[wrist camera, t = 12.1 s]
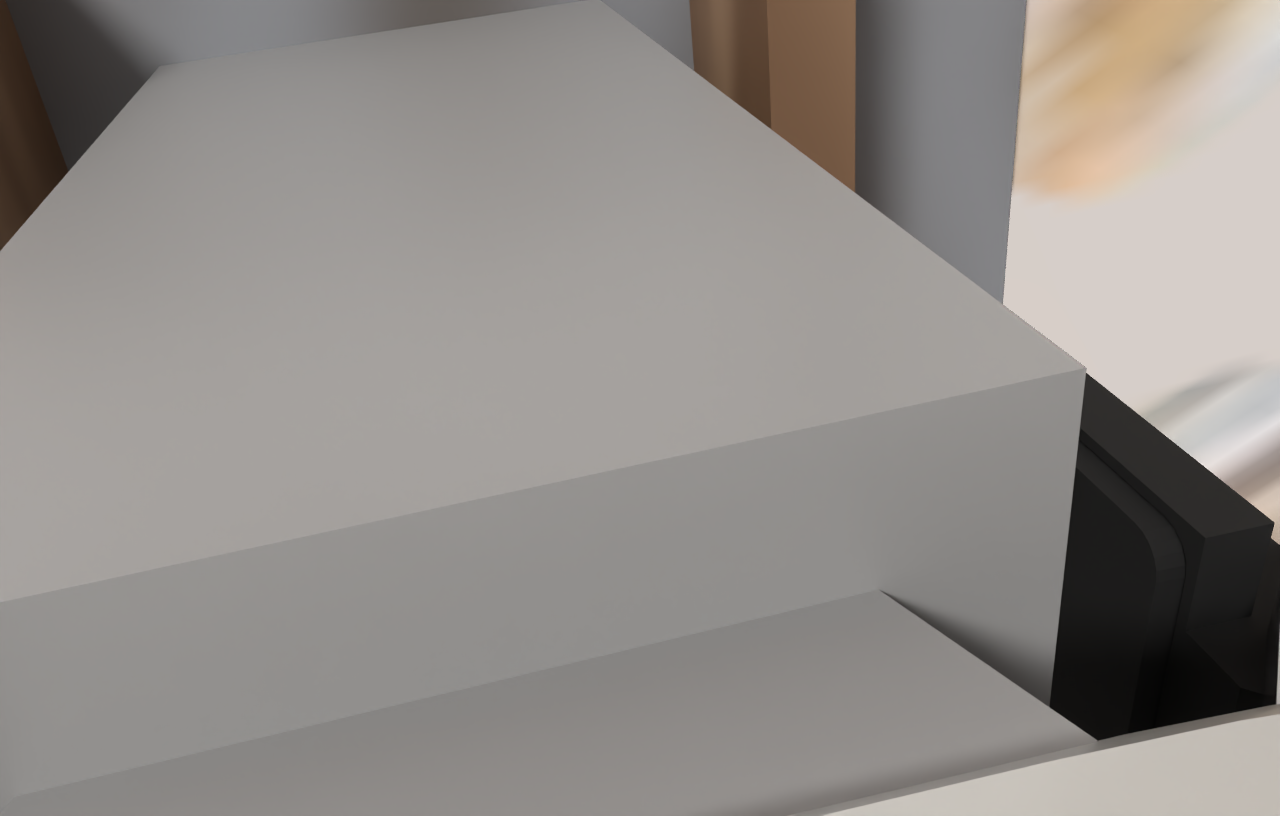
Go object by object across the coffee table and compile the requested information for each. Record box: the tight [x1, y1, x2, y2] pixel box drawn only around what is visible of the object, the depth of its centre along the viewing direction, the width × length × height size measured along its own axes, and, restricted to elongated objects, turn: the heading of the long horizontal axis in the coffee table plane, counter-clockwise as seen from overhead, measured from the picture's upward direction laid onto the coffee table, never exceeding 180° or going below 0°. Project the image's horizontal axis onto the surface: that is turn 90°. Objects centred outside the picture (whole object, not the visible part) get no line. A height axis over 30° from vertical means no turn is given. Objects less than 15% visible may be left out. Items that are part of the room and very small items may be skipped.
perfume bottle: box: [0, 0, 1098, 816], centre depth 11 cm, size 7×7×18 cm
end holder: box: [0, 0, 1026, 304], centre depth 17 cm, size 22×16×4 cm
